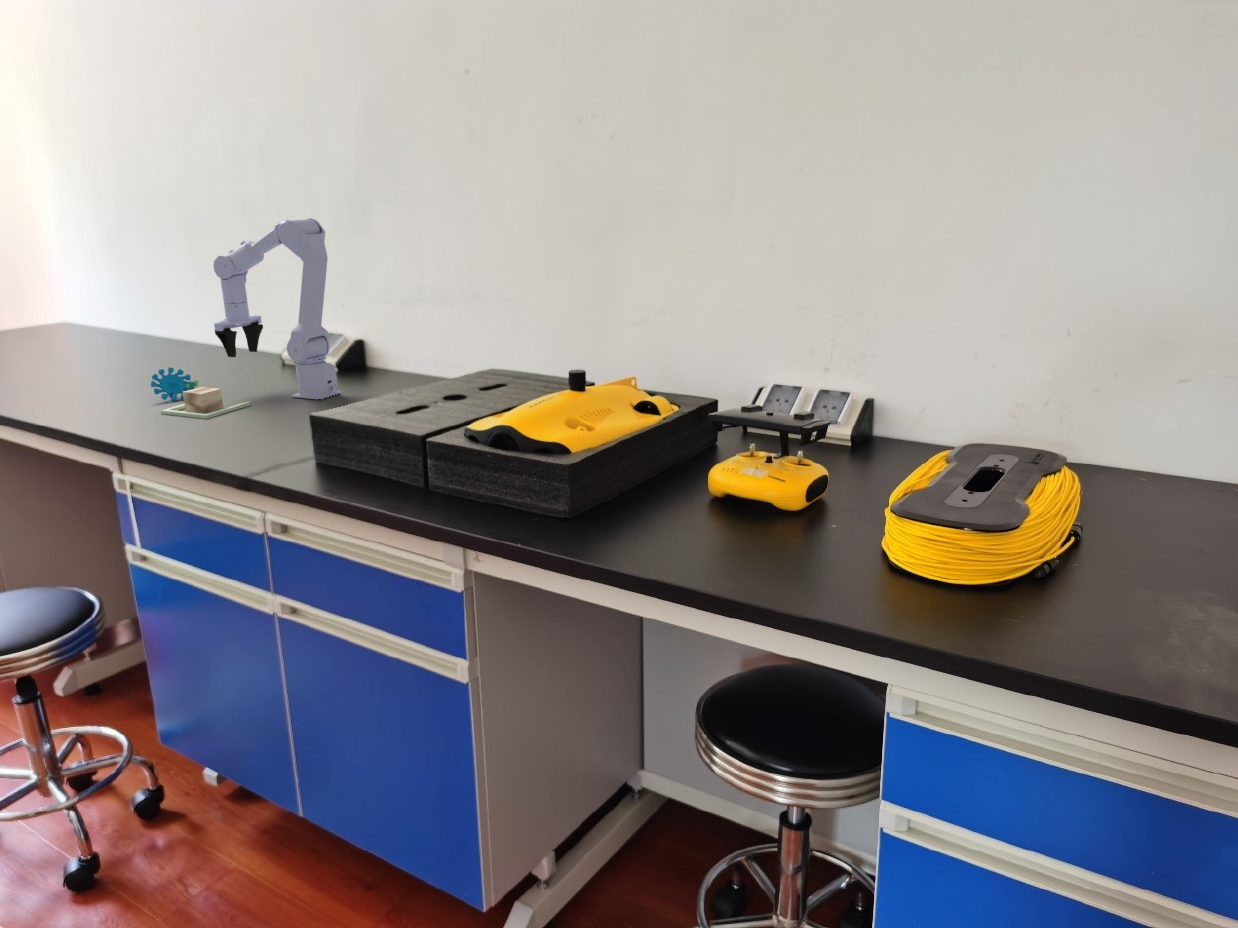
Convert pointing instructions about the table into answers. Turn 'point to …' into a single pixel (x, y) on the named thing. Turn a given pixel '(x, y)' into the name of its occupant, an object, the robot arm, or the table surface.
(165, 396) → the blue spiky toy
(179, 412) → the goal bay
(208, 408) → the block
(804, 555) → the table surface
